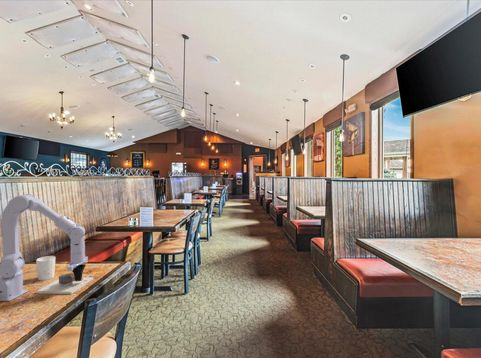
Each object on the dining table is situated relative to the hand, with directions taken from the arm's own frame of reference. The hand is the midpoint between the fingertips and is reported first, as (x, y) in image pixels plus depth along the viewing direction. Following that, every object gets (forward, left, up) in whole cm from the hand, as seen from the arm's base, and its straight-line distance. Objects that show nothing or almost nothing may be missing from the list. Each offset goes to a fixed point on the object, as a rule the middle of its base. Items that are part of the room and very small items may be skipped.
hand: (78, 280), depth 123 cm
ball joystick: (0, +4, 0) cm, 4 cm away
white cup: (+9, +23, -3) cm, 25 cm away
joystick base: (0, +6, -3) cm, 6 cm away
